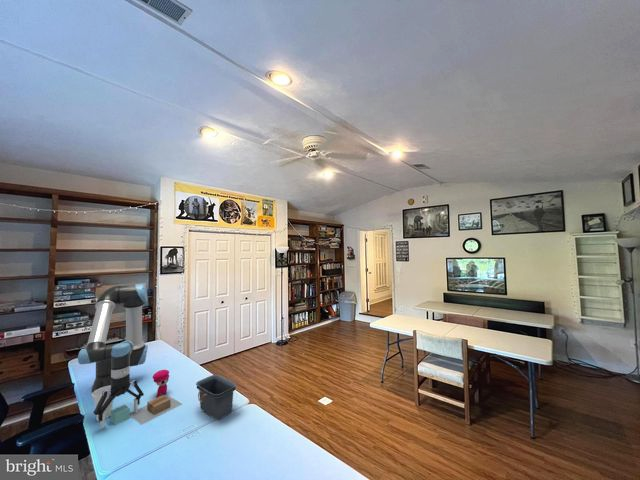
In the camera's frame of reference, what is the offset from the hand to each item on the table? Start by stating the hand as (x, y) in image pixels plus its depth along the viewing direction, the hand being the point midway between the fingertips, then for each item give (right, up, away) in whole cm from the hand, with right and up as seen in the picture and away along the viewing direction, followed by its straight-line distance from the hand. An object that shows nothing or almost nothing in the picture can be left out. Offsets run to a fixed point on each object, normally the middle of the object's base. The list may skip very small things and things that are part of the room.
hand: (119, 419), depth 129 cm
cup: (-11, -2, +4) cm, 12 cm away
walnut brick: (+14, 0, +9) cm, 17 cm away
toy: (+7, -2, +22) cm, 23 cm away
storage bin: (+45, -1, +6) cm, 45 cm away
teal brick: (0, -1, 0) cm, 1 cm away
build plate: (+13, -1, +8) cm, 15 cm away
